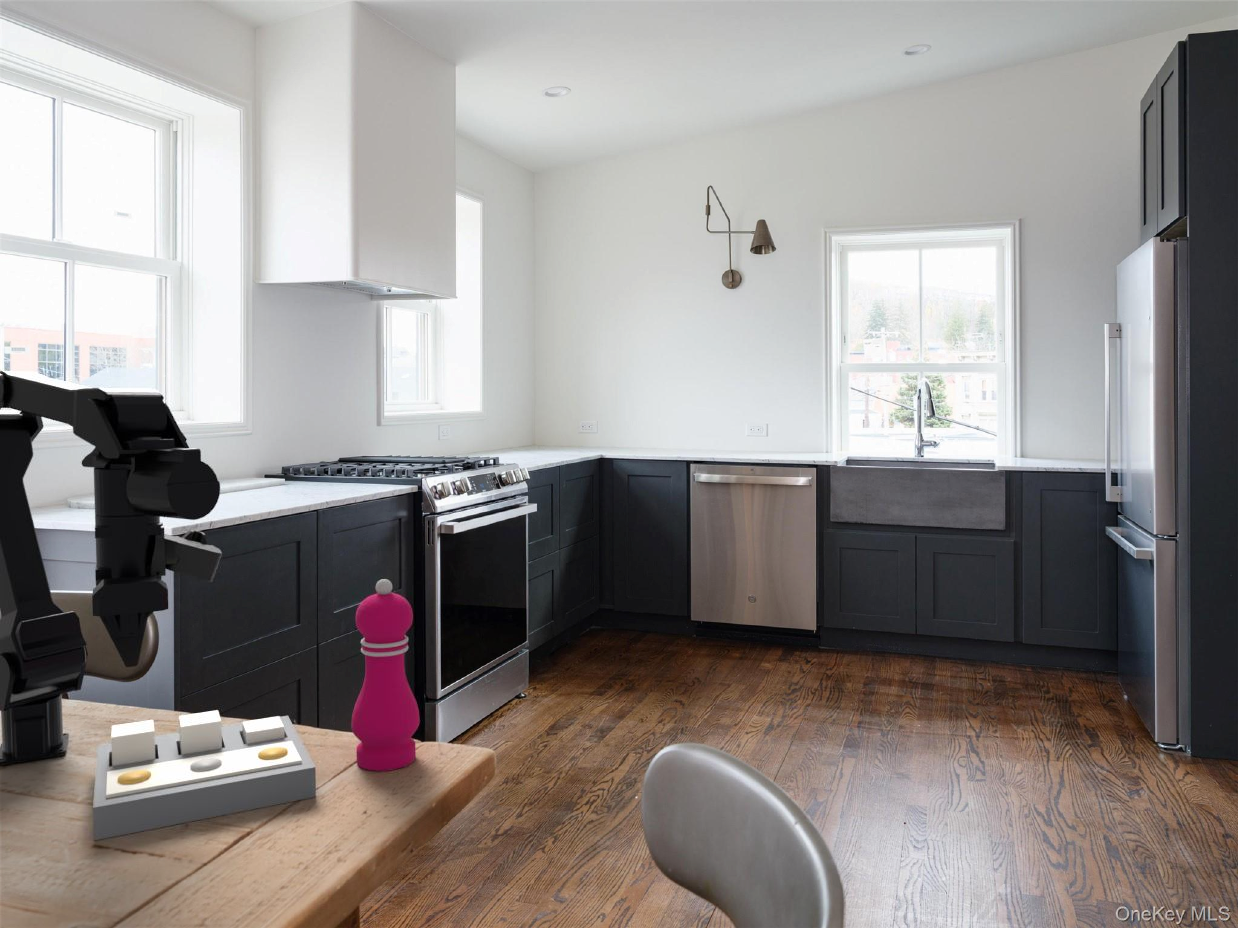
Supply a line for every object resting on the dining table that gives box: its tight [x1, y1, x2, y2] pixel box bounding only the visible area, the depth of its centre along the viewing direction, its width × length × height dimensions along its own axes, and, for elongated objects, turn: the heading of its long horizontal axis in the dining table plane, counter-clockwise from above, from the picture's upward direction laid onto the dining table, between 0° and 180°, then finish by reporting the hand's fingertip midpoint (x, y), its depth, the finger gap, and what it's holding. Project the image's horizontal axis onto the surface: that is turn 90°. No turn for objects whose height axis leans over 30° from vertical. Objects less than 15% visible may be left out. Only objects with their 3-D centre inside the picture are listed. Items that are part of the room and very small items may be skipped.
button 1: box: [110, 719, 156, 766], centre depth 92 cm, size 4×4×3 cm
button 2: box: [241, 715, 284, 744], centre depth 98 cm, size 4×4×3 cm
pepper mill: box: [350, 578, 421, 772], centre depth 98 cm, size 7×7×20 cm
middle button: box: [178, 709, 222, 755], centre depth 95 cm, size 4×4×3 cm
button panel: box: [92, 715, 317, 842], centre depth 92 cm, size 17×19×4 cm
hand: (131, 665), depth 92 cm, fingers closed
